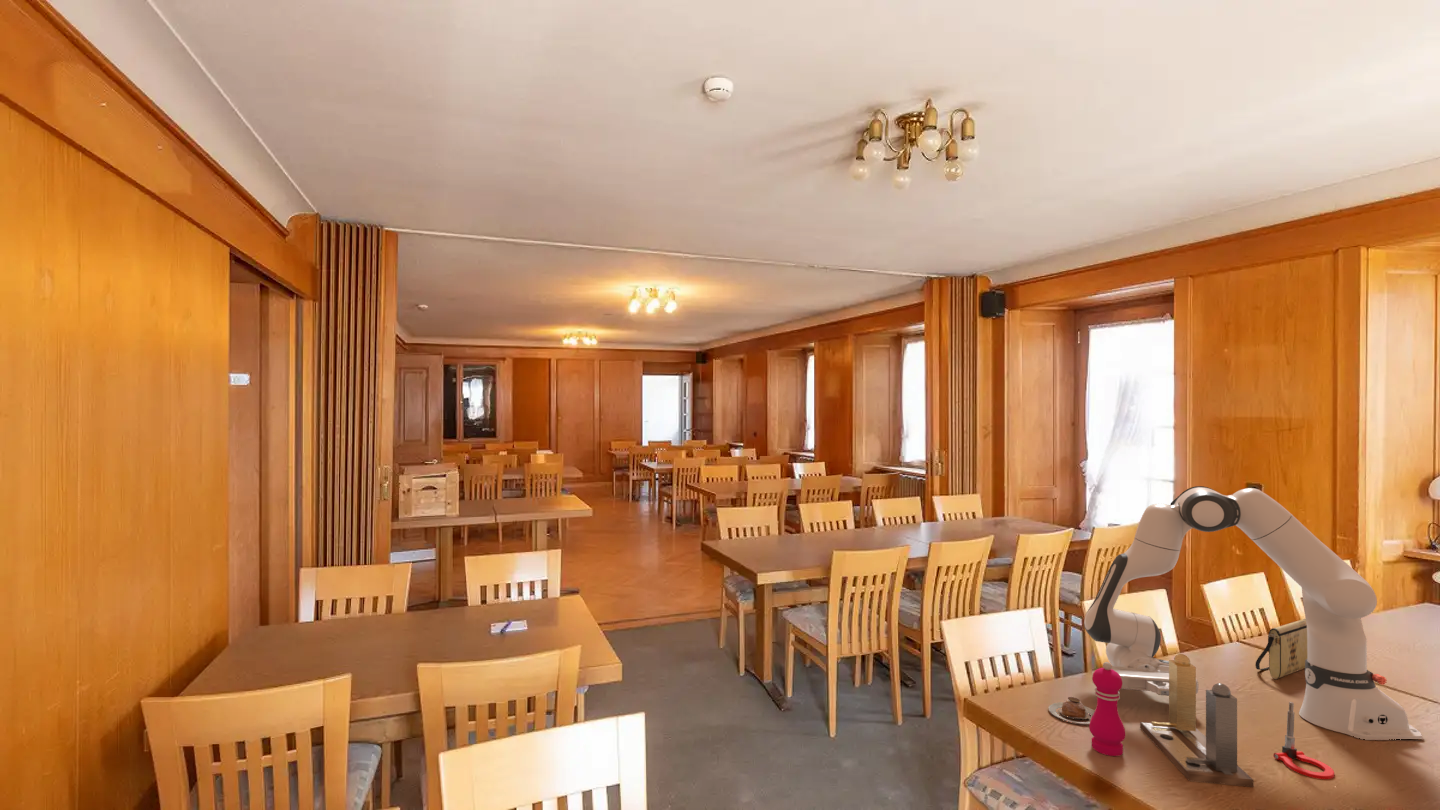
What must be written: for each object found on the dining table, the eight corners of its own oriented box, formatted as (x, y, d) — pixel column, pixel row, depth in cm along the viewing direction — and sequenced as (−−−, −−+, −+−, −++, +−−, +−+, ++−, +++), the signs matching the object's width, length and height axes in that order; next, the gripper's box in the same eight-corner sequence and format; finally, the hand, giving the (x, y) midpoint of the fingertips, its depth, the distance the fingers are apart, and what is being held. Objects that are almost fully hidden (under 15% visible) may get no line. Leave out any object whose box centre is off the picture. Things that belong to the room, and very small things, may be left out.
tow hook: (1345, 780, 143) (1302, 755, 152) (1347, 720, 143) (1304, 699, 152) (1310, 782, 142) (1269, 758, 151) (1313, 722, 142) (1271, 701, 151)
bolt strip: (1181, 727, 163) (1181, 725, 163) (1233, 775, 141) (1233, 773, 141) (1141, 723, 164) (1141, 722, 164) (1186, 771, 143) (1186, 769, 143)
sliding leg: (1187, 724, 162) (1187, 652, 163) (1195, 732, 158) (1195, 657, 159) (1148, 721, 164) (1148, 649, 164) (1156, 728, 160) (1156, 655, 160)
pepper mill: (1130, 759, 150) (1130, 669, 151) (1095, 755, 152) (1095, 666, 152) (1118, 743, 157) (1118, 657, 158) (1084, 740, 159) (1084, 655, 159)
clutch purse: (1295, 657, 214) (1295, 610, 214) (1323, 664, 208) (1323, 616, 208) (1248, 674, 200) (1248, 624, 200) (1276, 683, 194) (1276, 630, 194)
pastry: (1048, 703, 180) (1048, 686, 180) (1099, 712, 175) (1099, 694, 175) (1048, 722, 169) (1048, 703, 169) (1103, 732, 164) (1103, 713, 164)
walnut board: (1194, 732, 163) (1194, 726, 163) (1253, 787, 139) (1253, 779, 139) (1140, 728, 165) (1140, 722, 165) (1189, 780, 142) (1189, 773, 142)
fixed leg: (1226, 762, 146) (1226, 680, 146) (1237, 772, 142) (1237, 688, 142) (1183, 758, 147) (1182, 677, 147) (1192, 768, 143) (1192, 685, 143)
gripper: (1099, 657, 185) (1119, 676, 172) (1182, 662, 181) (1209, 683, 168) (1099, 680, 185) (1120, 701, 171) (1182, 686, 181) (1209, 708, 168)
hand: (1165, 692), depth 170 cm, fingers closed
